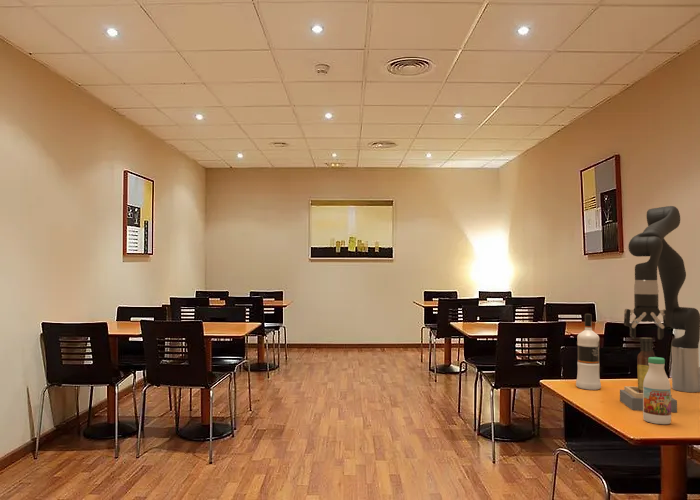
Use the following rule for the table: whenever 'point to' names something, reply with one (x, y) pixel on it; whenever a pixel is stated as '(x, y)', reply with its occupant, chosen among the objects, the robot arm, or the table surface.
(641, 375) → the sauce bottle
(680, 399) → the table surface
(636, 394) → the tray
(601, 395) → the table surface
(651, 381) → the milk bottle
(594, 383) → the vodka
